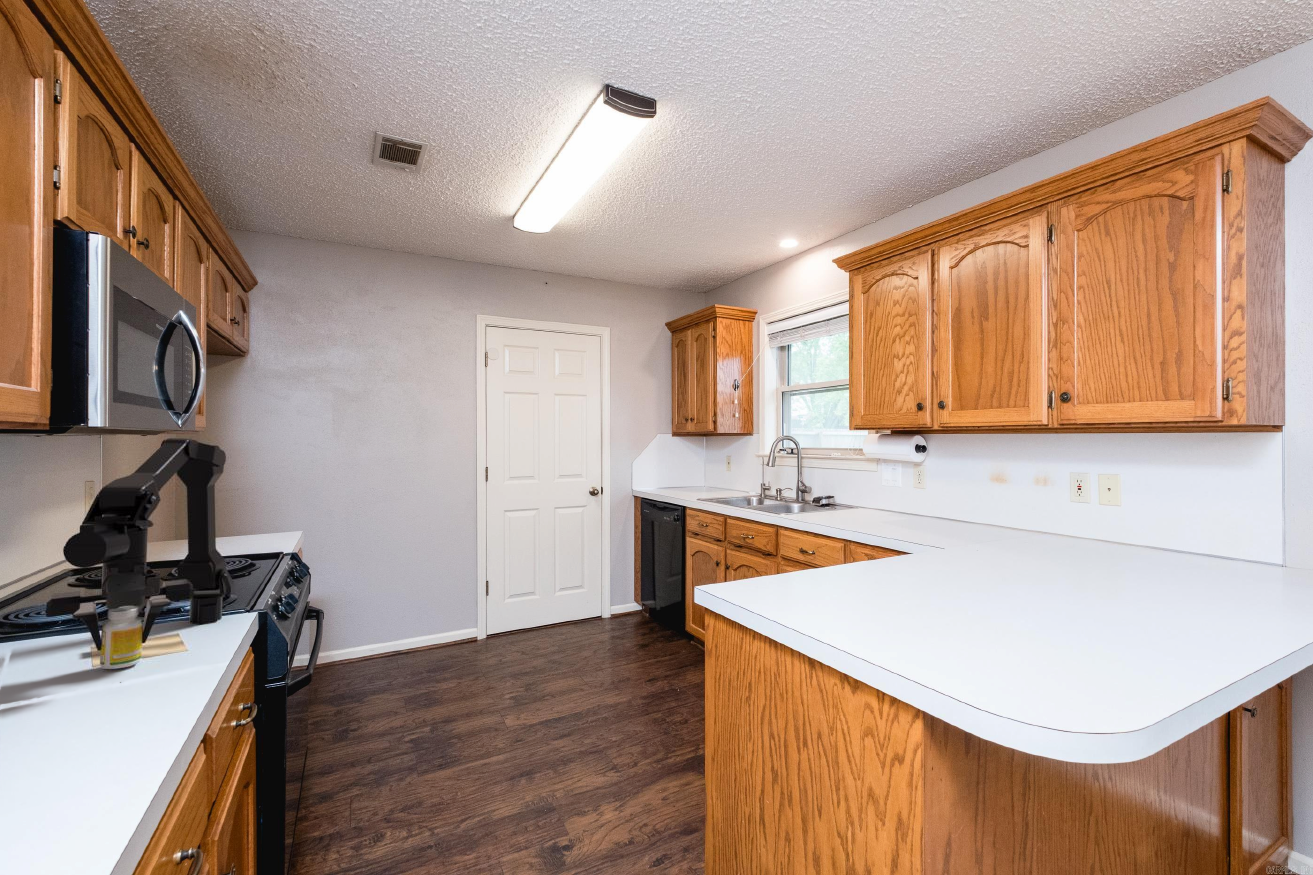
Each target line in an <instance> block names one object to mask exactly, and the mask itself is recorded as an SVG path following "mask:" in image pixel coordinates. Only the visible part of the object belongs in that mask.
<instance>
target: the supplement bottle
mask: <svg viewBox="0 0 1313 875" xmlns="http://www.w3.org/2000/svg"><path fill="white" fill-rule="evenodd" d="M139 608H140V607H139V606H125V607H119V608H117V609H108V611H107V619H108V620H109V621H106V622H105V623H104V624H103V625H102V626H101V632H100V637H101V652H100V666H99V667H100V668H102V669H103V670H104V669H105V670H114V669H122V668H128V667H131V666H134V665H136V664H138V663H139V662H141V660H142V659H141V654H142V635H143V624H144V620H143V619H141V618H140V617H138V615H139V613H140V609H139Z"/></svg>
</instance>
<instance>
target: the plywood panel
mask: <svg viewBox="0 0 1313 875" xmlns="http://www.w3.org/2000/svg"><path fill="white" fill-rule="evenodd" d="M90 651H91V661H92V668H96V667H100V652H101V650H100V651H98V650H97V648H96V646H91V647H90ZM187 651H188V648H187V645H186V644H185V643H184V641H183V639H182V636H181V635H180V633H171V634H165V635H160V636H153V637H152V636H151V637H148V638H147V640H146V642H145V643H142V654H141V660H142V659H143V660H144V659H147V658H153V657H159V656H165V655H171V654H176V653H181V652H187Z"/></svg>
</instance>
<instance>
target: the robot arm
mask: <svg viewBox="0 0 1313 875" xmlns="http://www.w3.org/2000/svg"><path fill="white" fill-rule="evenodd" d="M226 455H227V454H226V452H225V451H224V450H223V449H221V447H220V446H218V445H216V444H212V445H211V444H207V443H203V442H201V441H198V440H195V439H193V438H186V437H185V438H183V437H182V438H178V437H177V438H176V437H175V438H172V437H169V438H167V439H164V440H162V441H161V443H160V447H159V448H158V449H157V450H156V451H154V453H152V455H151V456H149V457H148V458H147V459H145V461H144V462H143V463H141V465H140V466H139V467H138V468H137V469H136V470H135V471H134V472H132V473H131V474H130V475H126V476H123V477H119V478H115V479H114V480H112V481H110V482H109V483H107V484H106V485H104V486H103V487H102V488H101V489H100V490H99V491H98V493H97V494H96V496H95V498H94V500H93V502H92V504H91V505H90V508H89V509H88V511H87V513H86V515H85V517H84V519H83V520H82V523H81V524H80V525H79V532H77V533H75V534H73V535H72V536H70V537H69V538H68V540H67V541H66V543H65V545H64V546H63V548H62V552H63V557H64V559H65V560H66V562H68V564H70V565H71V566H74V567H75V568H81V569H86V568H88V569H89V568H90V567H95V566H99V565H102V569H101V570H102V571H101V572H102V574H101V593H96V594H88V595H87V594H86V595H81V590H75V591H67V592H57V593H55V592H54V593H52V594H50V595H49V596H48V597H47V599H46V606H45V608H46V609H45V617H46V618H54V617H56V618H57V617H62V616H70V615H71V616H72V617H71V618H72V619H75V620H76V619H81V620H82V622H83V623H84V624H85V626H86V627H87V629H88V631H89V633H90V635H91V638H92V640H93V643H94V645H95V646H96V648H97V650H98V651H100V650H101V632H100V624H99V617H98V611H97V606H100V605H105V606H106V608H107V609H108V610H110V609H117V608H119V607H125V606H138V607H139V606H142V605H144V604H146V608H145V613H144V620H143V635H142V643H145V642H146V640H147V638H149V635H150V632H151V631H152V628H153V626H154V624H155V622H156V620H157V618H158V616H159V614H160V613H161V612H162V611H163V609H164V608H168V607H170V606H172V602H179V601H185V600H186V601H187V600H190V601H189V620H188V621H189V622H188V623H190V624H193V625H202V626H203V625H208V624H215V623H217V622H218V621H220V620H222V618H223V617H222V616H223V615H222V614H223V598H224V597H226V596H231V595H233V592H234V589H235V588H234V586H235V582H234V580H233V578H232V576H231V575H230V573H229V571H228V569H227V567H226V566H227V565H226V559H225V557H223V555H222V554H221V553H220V551H218V550H217V540H216V533H217V532H216V495H215V494H216V493H215V492H216V491H215V488H216V485H215V484H217V482H218V480H219V479H220V477H221V476H222V475H223V473H224V471H225V470H224V467H225V465H226V460H227V456H226ZM175 474H176V476H177V477H178V478H179V480H180V481H181V482H182V484H183V485H184V486H185V489H186V514H187V516H186V518H187V520H186V521H187V524H186V525H187V554H186V556H185V557H184V558H183V560H182V561H181V562H179V563H178V564H177V566H176V571H177V576H176V580H167V581H166V580H165V581H163V582H162V586H161V573H160V572H158V573H149V574H147V559H148V558H147V557H148V553H147V552H148V532H149V531H148V529H149V528H152V527H153V526H154V522H153V521H152V520H150V519H149V518H150V517H151V515H152V514H153V513H154V511H155V510H156V509H157V507H158V506H159V504H160V502H161V501H162V500H161V496H160V492H161V490H162V488H163V487H165V485H167V483H168V482H169V481H170V480H171V479H172V478H173V476H175ZM146 600H147V602H146Z"/></svg>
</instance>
